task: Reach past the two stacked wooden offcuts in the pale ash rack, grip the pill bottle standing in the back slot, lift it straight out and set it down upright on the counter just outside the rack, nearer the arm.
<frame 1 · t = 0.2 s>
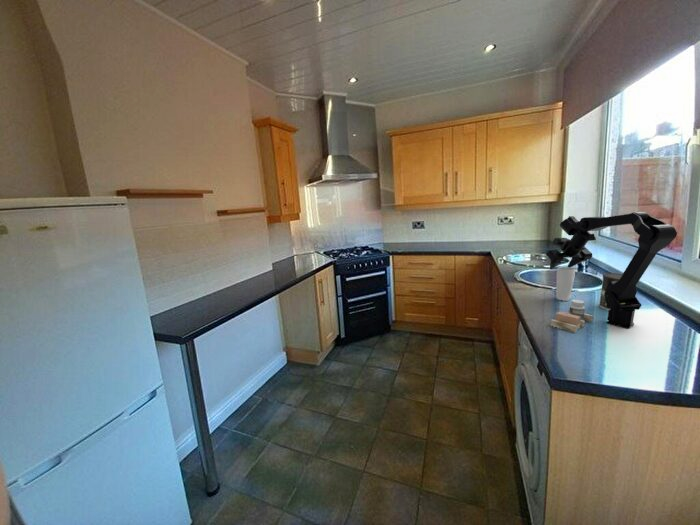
hand: (559, 267, 142), 15 cm above the table, tool tilted 30°, fingers open, 9 cm apart
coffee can: (614, 308, 130), on the table
lower offcut: (566, 327, 115), on the table, touching upper offcut
offcut rack: (571, 323, 117), on the table
drinking glass: (562, 299, 142), on the table
upper offcut: (567, 321, 114), point 2 cm above the table, touching lower offcut
pill bottle: (575, 322, 119), on the table
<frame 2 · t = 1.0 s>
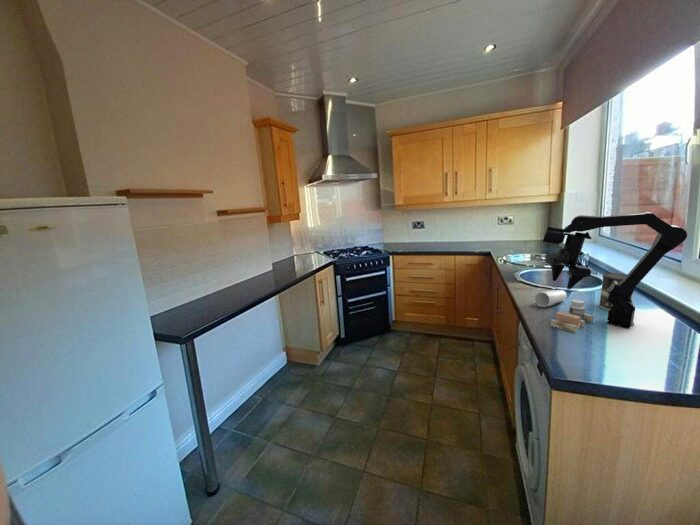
hand: (561, 284, 124), 13 cm above the table, tool pointing down, fingers open, 9 cm apart
drinking glass: (561, 295, 140), point 3 cm above the table
everything else where it was.
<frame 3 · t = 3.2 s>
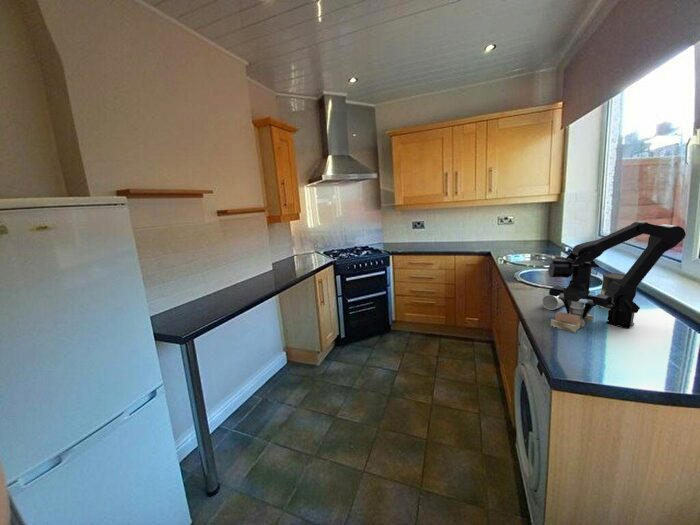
hand: (576, 316, 118), 2 cm above the table, tool pointing down, fingers closed on pill bottle, 5 cm apart
drinking glass: (567, 296, 138), point 3 cm above the table
pill bottle: (575, 321, 119), on the table, touching gripper
everything else where it was.
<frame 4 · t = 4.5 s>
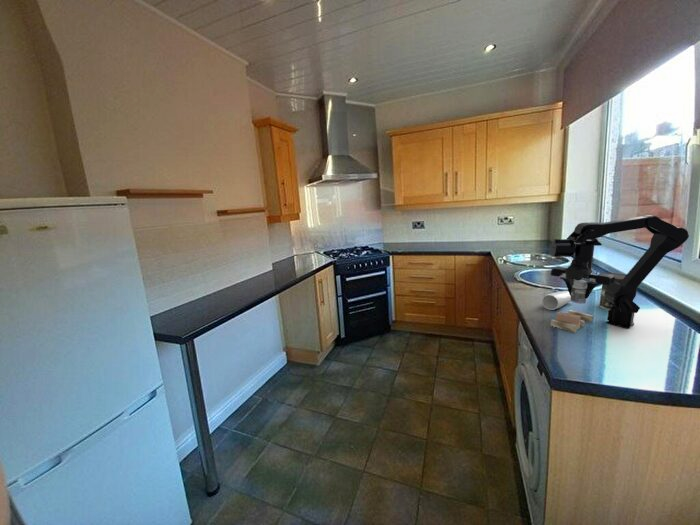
hand: (578, 296, 117), 10 cm above the table, tool pointing down, fingers closed on pill bottle, 5 cm apart
pill bottle: (577, 302, 117), point 8 cm above the table, touching gripper
everything else where it was.
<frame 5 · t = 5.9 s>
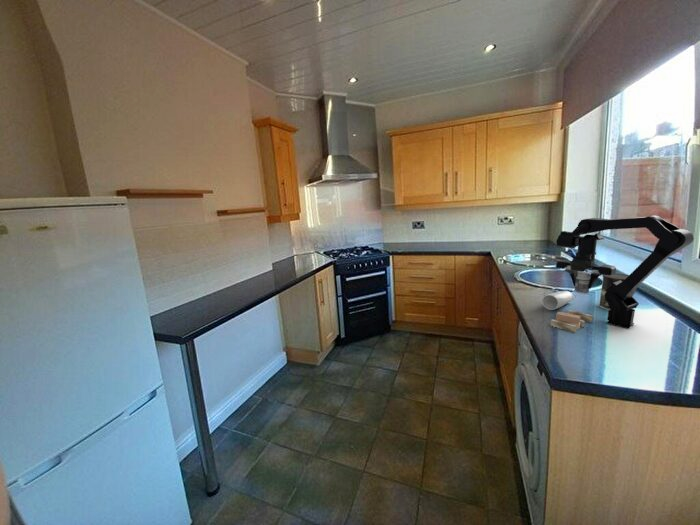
hand: (582, 287, 125), 11 cm above the table, tool pointing down, fingers closed on pill bottle, 5 cm apart
lower offcut: (567, 327, 115), on the table
upper offcut: (567, 321, 114), point 2 cm above the table
pill bottle: (581, 292, 125), point 9 cm above the table, touching gripper
everything else where it was.
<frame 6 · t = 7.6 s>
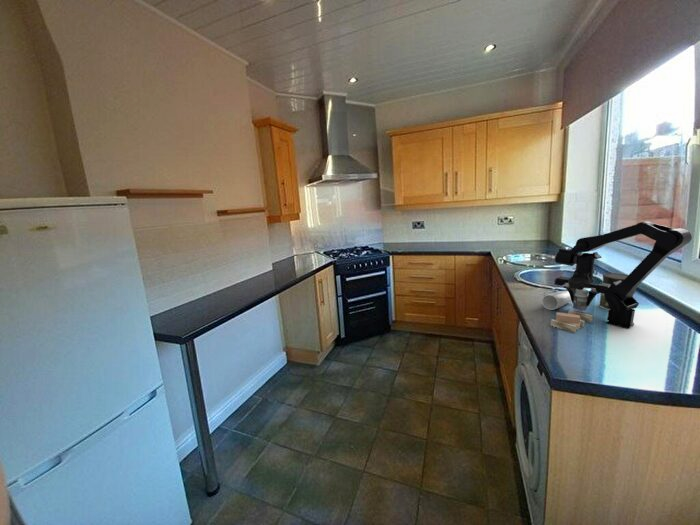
hand: (580, 304, 126), 3 cm above the table, tool pointing down, fingers closed on pill bottle, 5 cm apart
pill bottle: (579, 309, 127), point 1 cm above the table, touching gripper
everything else where it was.
when the fingers open (3 cm above the table, at t = 8.0 s): pill bottle drops 1 cm, on the table.
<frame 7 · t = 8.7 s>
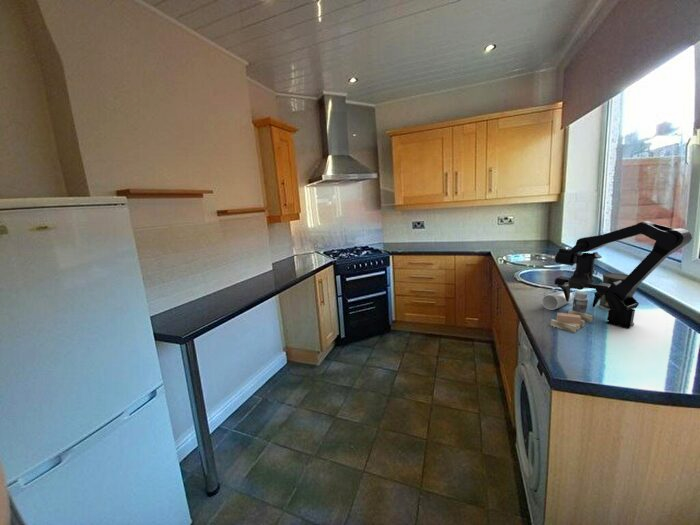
hand: (580, 304, 127), 3 cm above the table, tool pointing down, fingers open, 9 cm apart
lower offcut: (567, 327, 114), on the table, touching upper offcut
upper offcut: (568, 321, 114), point 2 cm above the table, touching lower offcut
pill bottle: (579, 312, 127), on the table
everything else where it was.
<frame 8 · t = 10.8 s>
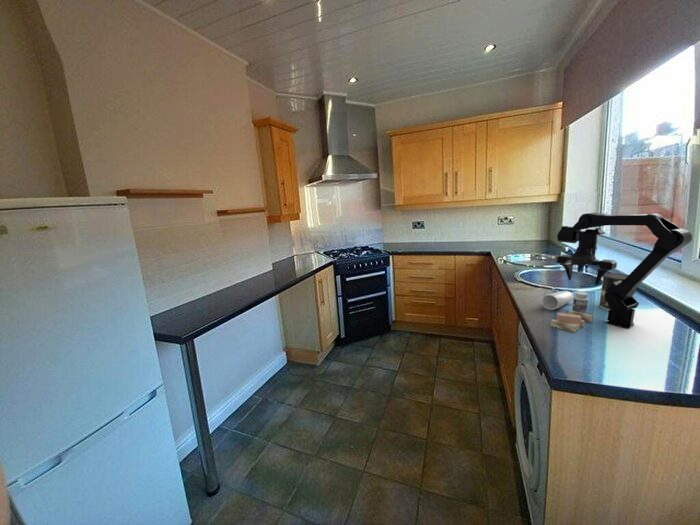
hand: (582, 282, 125), 13 cm above the table, tool pointing down, fingers open, 9 cm apart
nothing on the table moved.
at the end: pill bottle 0.0 cm from the target spot, on the table; pill bottle tilted 0°; upper offcut moved 0.3 cm from its start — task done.
